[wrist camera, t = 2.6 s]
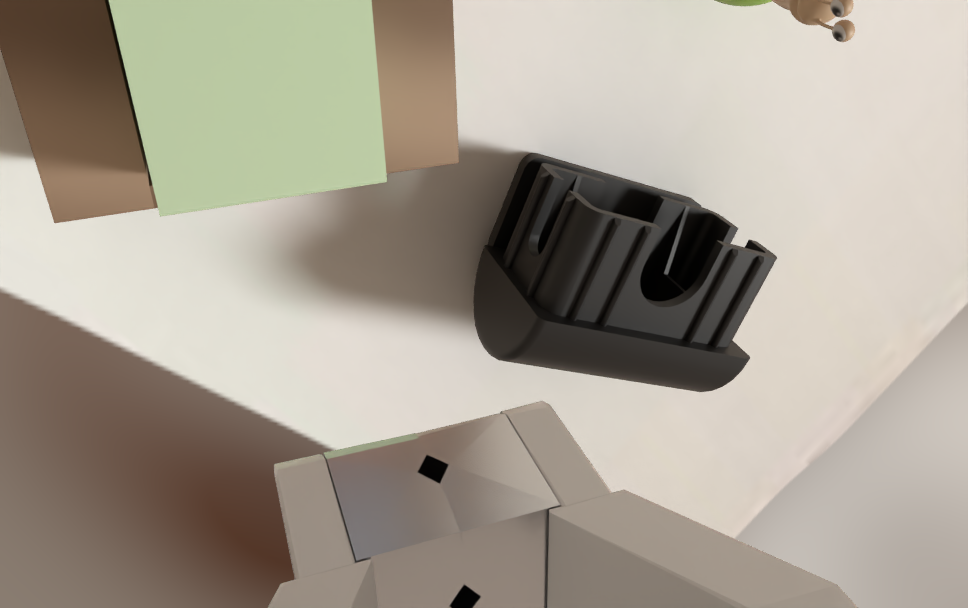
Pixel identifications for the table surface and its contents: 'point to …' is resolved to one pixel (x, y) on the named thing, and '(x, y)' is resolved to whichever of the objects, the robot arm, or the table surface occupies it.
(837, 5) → the snail figurine
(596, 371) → the end cap
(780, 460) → the table surface
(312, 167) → the sage key
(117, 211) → the key panel
